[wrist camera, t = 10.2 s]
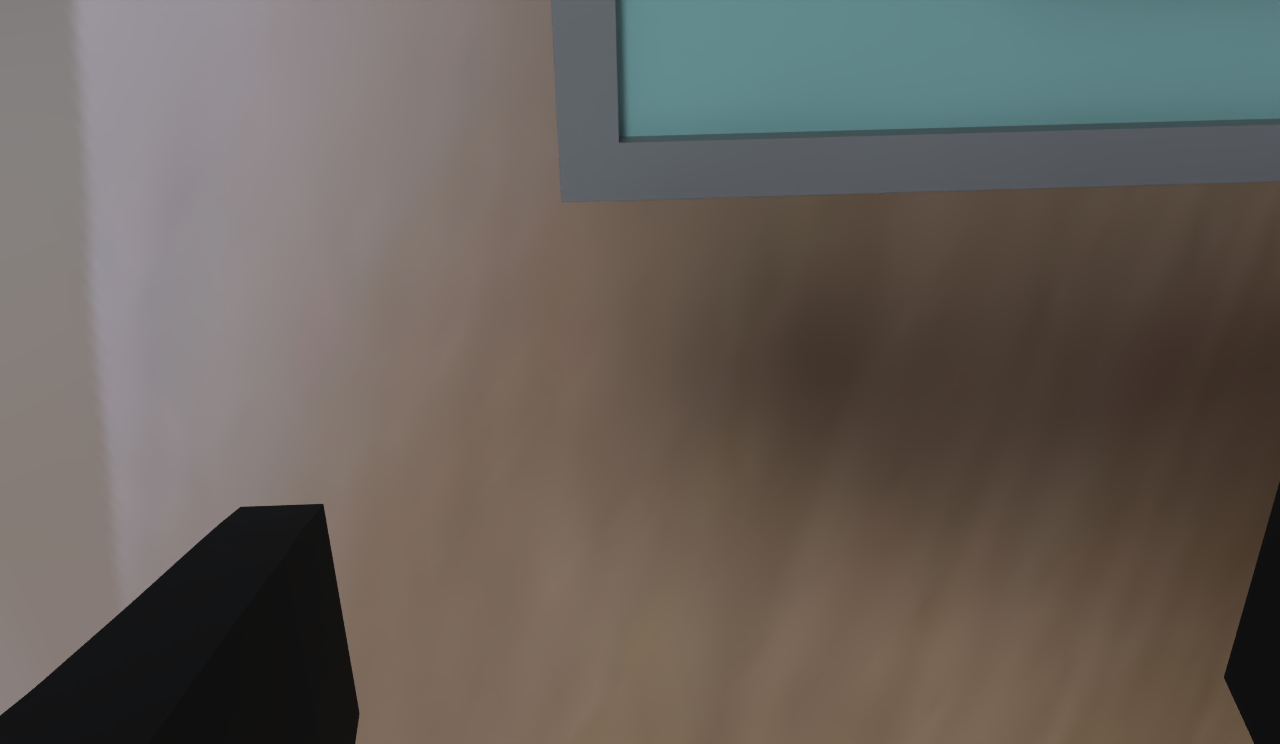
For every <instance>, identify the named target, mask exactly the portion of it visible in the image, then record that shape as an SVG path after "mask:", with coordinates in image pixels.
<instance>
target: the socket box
mask: <svg viewBox="0 0 1280 744" xmlns="http://www.w3.org/2000/svg"><path fill="white" fill-rule="evenodd" d="M551 8H552V27H553V47H554V67H555V87H556V106H557V126H558V146H559V166H560V186H561V202H593V201H627V200H661V199H695V198H730V197H764V196H798V195H833V194H867V193H901V192H936V191H970V190H1004V189H1038V188H1073V187H1107V186H1141V185H1176V184H1210V183H1244V182H1278V181H1280V0H551Z"/></svg>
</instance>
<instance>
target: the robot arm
mask: <svg viewBox="0 0 1280 744" xmlns="http://www.w3.org/2000/svg"><path fill="white" fill-rule="evenodd" d="M1224 679H1225V681H1226V683H1227V685H1228V687H1229V690H1230V692H1231V694H1232V696H1233V698H1234V701H1235V703H1236V705H1237V707H1238V709H1239V711H1240V714H1241V716H1242V718H1243V720H1244V722H1245V725H1246V727H1247V729H1248V731H1249V733H1250V735H1251V738H1252V740H1253V742H1254V744H1280V483H1279V486H1278V490H1277V493H1276V497H1275V500H1274V504H1273V507H1272V511H1271V514H1270V518H1269V521H1268V525H1267V528H1266V532H1265V535H1264V539H1263V542H1262V546H1261V549H1260V553H1259V556H1258V560H1257V563H1256V567H1255V570H1254V574H1253V577H1252V581H1251V584H1250V588H1249V591H1248V595H1247V598H1246V602H1245V605H1244V609H1243V612H1242V616H1241V619H1240V623H1239V626H1238V630H1237V633H1236V637H1235V640H1234V644H1233V647H1232V651H1231V654H1230V658H1229V661H1228V665H1227V668H1226V672H1225V675H1224ZM358 720H359V708H358V702H357V696H356V691H355V685H354V679H353V673H352V667H351V662H350V656H349V650H348V644H347V638H346V633H345V627H344V621H343V615H342V610H341V604H340V598H339V592H338V586H337V581H336V575H335V569H334V563H333V557H332V552H331V546H330V540H329V534H328V528H327V523H326V517H325V511H324V505H323V504H308V505H280V506H253V507H240V508H239V509H237V510H236V511H235V512H234V513H232V514H231V515H230V516H229V517H227V518H226V519H225V520H224V521H223V522H221V523H220V524H219V525H218V526H217V527H216V528H214V529H213V530H212V531H211V532H210V533H209V534H208V535H206V536H205V537H204V538H203V539H202V540H201V541H200V542H199V543H197V544H196V545H195V546H194V547H193V548H192V549H191V550H190V551H188V552H187V553H186V554H185V555H184V556H183V557H182V558H181V559H180V560H178V561H177V562H176V563H175V564H174V565H173V566H172V567H171V568H170V569H169V570H167V571H166V572H165V573H164V574H163V575H162V576H161V577H160V578H159V579H157V580H156V581H155V582H154V583H153V584H152V585H151V586H150V587H149V588H147V589H146V590H145V591H144V592H143V593H142V594H141V595H140V596H139V597H137V598H136V599H135V600H134V601H133V602H132V603H131V604H130V605H129V606H127V607H126V608H125V609H124V610H123V611H122V612H121V613H120V614H118V615H117V616H116V617H115V618H114V619H113V620H112V621H110V622H109V623H108V624H107V625H106V626H105V627H104V628H102V629H101V630H100V631H99V632H98V633H97V634H96V635H94V636H93V637H92V638H91V639H90V640H89V641H88V642H86V643H85V644H84V645H83V646H82V647H81V648H80V649H79V650H77V651H76V652H75V653H74V654H73V655H72V656H70V657H69V658H68V659H67V660H66V661H65V662H64V663H62V664H61V665H60V666H59V667H58V668H57V669H56V670H54V672H52V673H51V674H50V675H49V676H48V677H46V679H44V680H43V681H42V682H41V683H40V684H38V685H37V686H36V687H35V688H34V689H32V690H31V691H30V692H29V693H28V694H27V695H25V696H24V697H23V698H22V699H20V700H19V701H18V702H17V703H15V704H14V705H13V706H12V707H10V708H9V709H8V710H7V711H5V712H4V713H3V714H2V715H1V716H0V744H355V741H356V734H357V727H358Z"/></svg>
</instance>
